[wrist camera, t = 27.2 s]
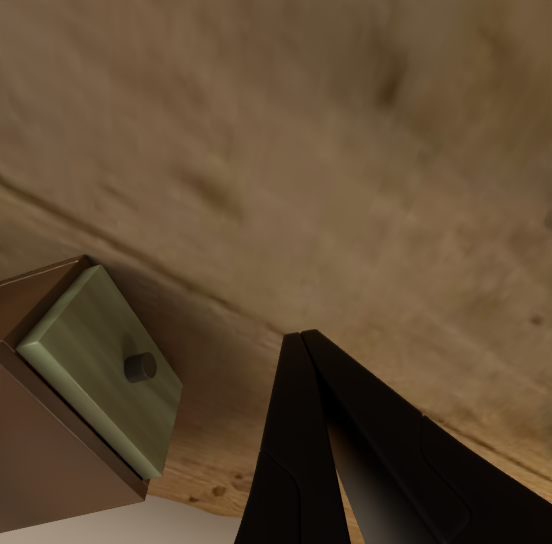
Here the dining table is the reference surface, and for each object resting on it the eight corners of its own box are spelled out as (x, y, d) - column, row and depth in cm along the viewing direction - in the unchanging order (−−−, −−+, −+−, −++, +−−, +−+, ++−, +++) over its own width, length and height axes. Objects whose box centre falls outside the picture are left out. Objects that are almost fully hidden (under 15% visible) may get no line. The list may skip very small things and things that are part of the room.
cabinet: (84, 254, 21) (-11, 354, 13) (175, 384, 27) (144, 501, 20) (-85, 308, 22) (-255, 425, 15) (39, 420, 29) (-37, 541, 21)
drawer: (119, 257, 20) (62, 334, 14) (198, 381, 26) (180, 472, 20) (-60, 314, 21) (-177, 404, 16) (53, 419, 27) (-3, 514, 21)
